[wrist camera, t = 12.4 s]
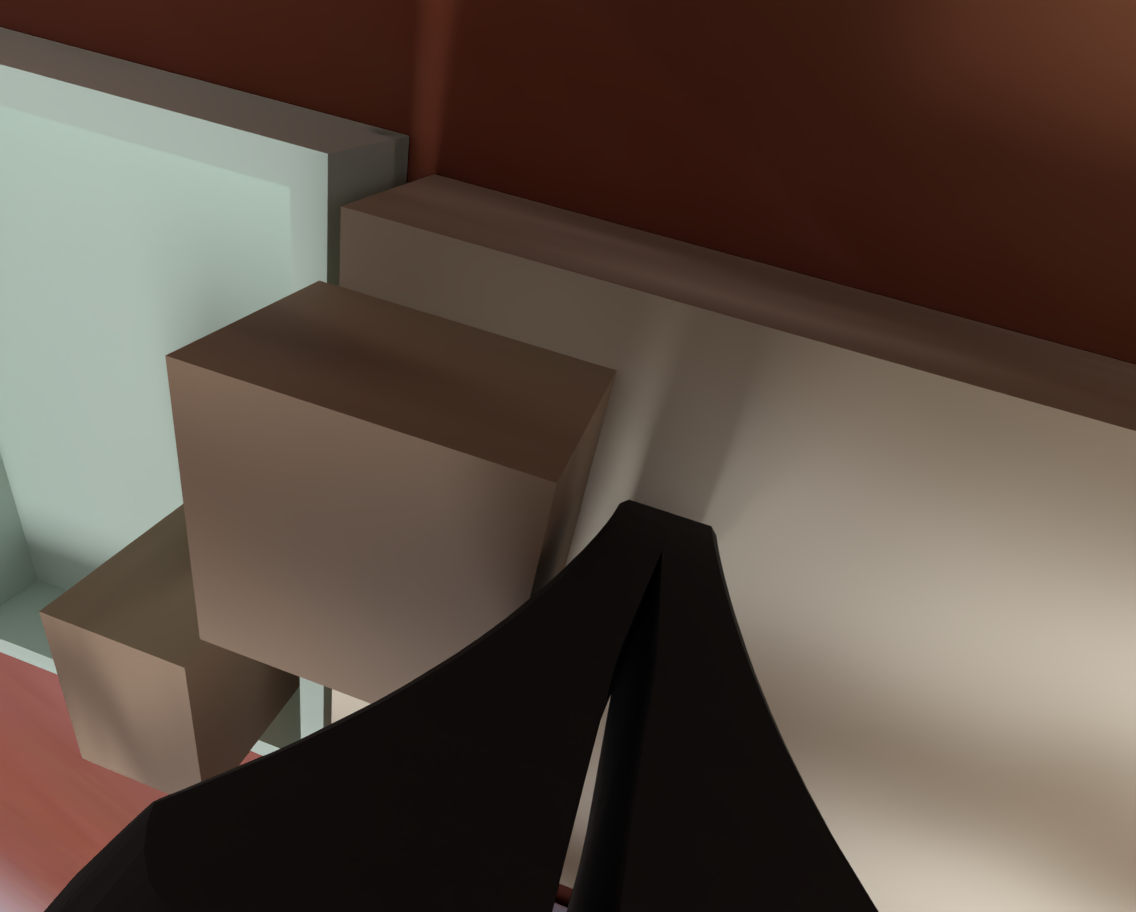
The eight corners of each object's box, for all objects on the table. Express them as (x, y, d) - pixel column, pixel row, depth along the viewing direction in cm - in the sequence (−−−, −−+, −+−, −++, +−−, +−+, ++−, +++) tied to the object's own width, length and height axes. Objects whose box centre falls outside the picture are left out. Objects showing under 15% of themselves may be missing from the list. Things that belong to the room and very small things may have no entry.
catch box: (371, 702, 20) (323, 779, 18) (39, 577, 21) (-43, 635, 19) (409, 135, 12) (328, 153, 10) (-130, -8, 13) (-304, -19, 11)
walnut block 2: (555, 604, 12) (494, 749, 9) (317, 521, 13) (200, 638, 10) (617, 371, 10) (557, 482, 7) (319, 280, 10) (166, 355, 8)
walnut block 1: (205, 809, 15) (82, 758, 15) (323, 654, 18) (222, 617, 19) (184, 667, 12) (39, 611, 13) (325, 523, 16) (209, 483, 16)
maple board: (974, 916, 18) (1006, 1061, 15) (389, 697, 19) (330, 792, 17) (1465, 453, 10) (1693, 588, 8) (434, 173, 12) (340, 206, 9)
